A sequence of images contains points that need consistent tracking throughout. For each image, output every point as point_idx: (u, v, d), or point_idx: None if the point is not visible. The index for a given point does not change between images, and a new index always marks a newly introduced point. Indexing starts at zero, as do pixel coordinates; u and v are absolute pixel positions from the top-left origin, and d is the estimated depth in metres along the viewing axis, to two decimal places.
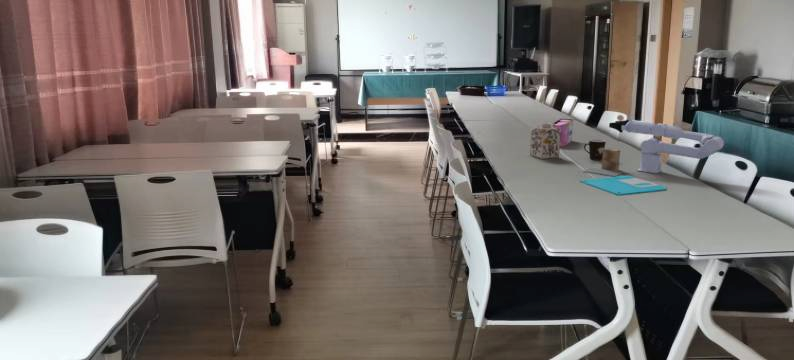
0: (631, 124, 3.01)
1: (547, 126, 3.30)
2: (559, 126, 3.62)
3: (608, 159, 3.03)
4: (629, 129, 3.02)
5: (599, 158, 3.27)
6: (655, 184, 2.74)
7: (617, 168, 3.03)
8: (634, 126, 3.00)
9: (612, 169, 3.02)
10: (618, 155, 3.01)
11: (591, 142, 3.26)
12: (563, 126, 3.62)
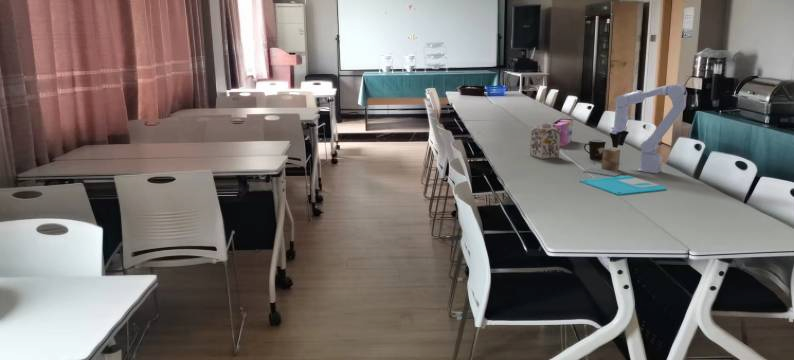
0: (615, 126, 3.05)
1: (547, 126, 3.30)
2: (559, 126, 3.63)
3: (608, 159, 3.03)
4: (620, 128, 3.04)
5: (599, 158, 3.27)
6: (655, 184, 2.74)
7: (617, 168, 3.03)
8: (616, 122, 3.05)
9: (612, 169, 3.02)
10: (618, 155, 3.01)
11: (591, 142, 3.26)
12: (563, 126, 3.62)
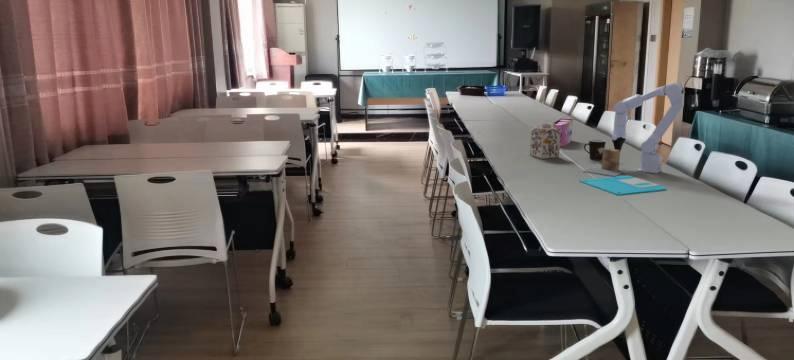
0: (614, 132, 3.06)
1: (547, 126, 3.30)
2: (559, 126, 3.63)
3: (608, 159, 3.03)
4: (619, 134, 3.04)
5: (599, 158, 3.27)
6: (655, 184, 2.74)
7: (617, 168, 3.03)
8: (616, 128, 3.05)
9: (612, 169, 3.02)
10: (618, 155, 3.01)
11: (591, 142, 3.26)
12: (563, 126, 3.62)
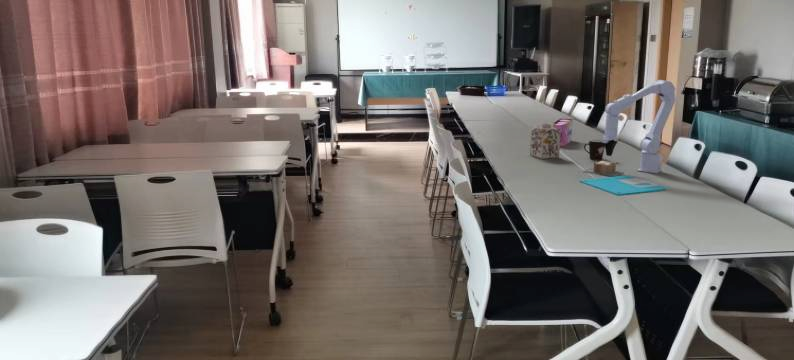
0: (606, 135, 2.98)
1: (547, 126, 3.30)
2: (560, 126, 3.63)
3: None
4: (611, 137, 2.96)
5: (599, 158, 3.27)
6: (655, 184, 2.74)
7: (615, 165, 3.00)
8: (607, 131, 2.97)
9: None
10: (609, 168, 2.95)
11: (591, 142, 3.26)
12: (564, 126, 3.62)
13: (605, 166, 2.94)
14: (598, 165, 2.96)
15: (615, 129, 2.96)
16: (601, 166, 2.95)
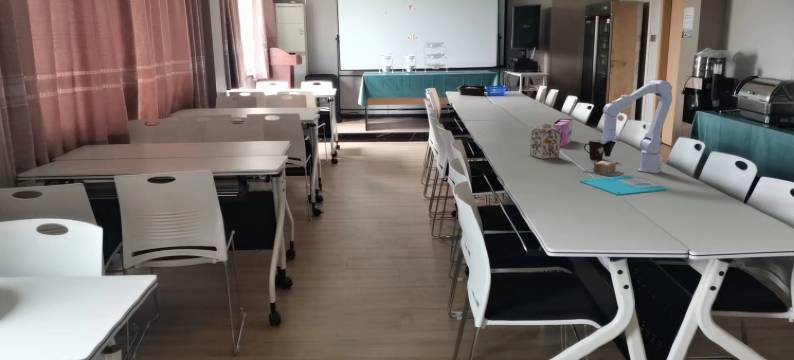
0: (604, 136, 2.96)
1: (547, 126, 3.30)
2: (560, 126, 3.63)
3: None
4: (609, 137, 2.95)
5: (599, 158, 3.27)
6: (655, 184, 2.74)
7: (615, 165, 3.00)
8: (605, 132, 2.95)
9: None
10: (609, 168, 2.95)
11: (591, 142, 3.26)
12: (564, 126, 3.62)
13: (605, 166, 2.94)
14: (598, 165, 2.96)
15: (613, 130, 2.94)
16: (601, 166, 2.95)
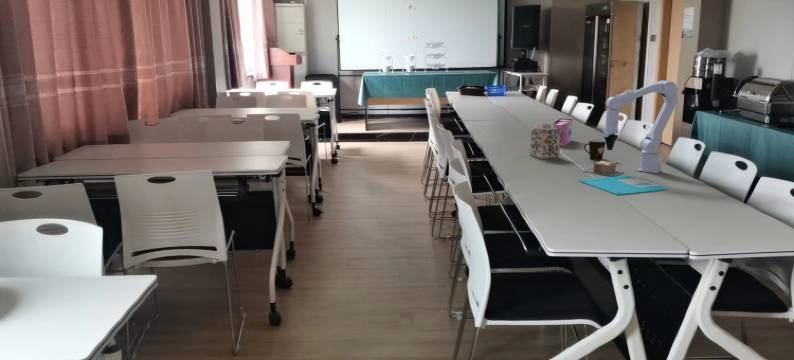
0: (606, 129, 2.97)
1: (547, 126, 3.30)
2: (560, 126, 3.63)
3: None
4: (611, 131, 2.96)
5: (599, 158, 3.27)
6: (655, 184, 2.73)
7: (615, 165, 3.00)
8: (608, 125, 2.96)
9: None
10: (609, 168, 2.95)
11: (591, 142, 3.26)
12: (564, 126, 3.63)
13: (605, 166, 2.94)
14: (598, 165, 2.96)
15: (616, 123, 2.95)
16: (601, 166, 2.95)
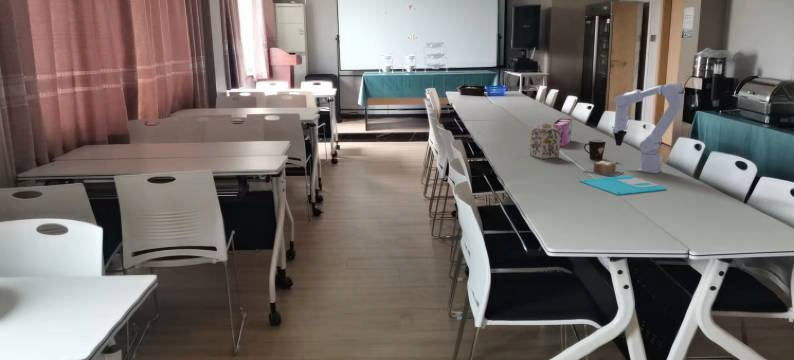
0: (616, 125, 3.08)
1: (547, 126, 3.30)
2: (560, 126, 3.63)
3: None
4: (620, 127, 3.07)
5: (599, 158, 3.27)
6: (655, 184, 2.73)
7: (615, 165, 3.00)
8: (617, 121, 3.07)
9: None
10: (609, 168, 2.95)
11: (591, 142, 3.26)
12: (564, 126, 3.63)
13: (605, 166, 2.94)
14: (598, 165, 2.96)
15: (625, 119, 3.06)
16: (601, 166, 2.95)
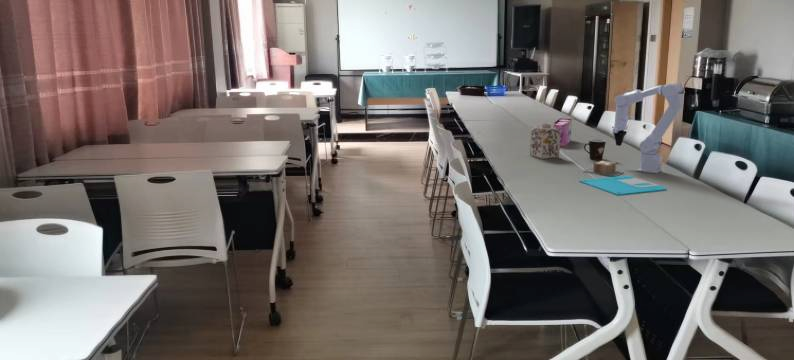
0: (616, 125, 3.08)
1: (547, 126, 3.30)
2: (560, 126, 3.63)
3: None
4: (620, 127, 3.07)
5: (599, 158, 3.27)
6: (655, 184, 2.73)
7: (615, 165, 3.00)
8: (617, 121, 3.07)
9: None
10: (609, 168, 2.95)
11: (591, 142, 3.26)
12: (564, 126, 3.63)
13: (605, 166, 2.94)
14: (598, 165, 2.96)
15: (625, 119, 3.06)
16: (601, 166, 2.95)
